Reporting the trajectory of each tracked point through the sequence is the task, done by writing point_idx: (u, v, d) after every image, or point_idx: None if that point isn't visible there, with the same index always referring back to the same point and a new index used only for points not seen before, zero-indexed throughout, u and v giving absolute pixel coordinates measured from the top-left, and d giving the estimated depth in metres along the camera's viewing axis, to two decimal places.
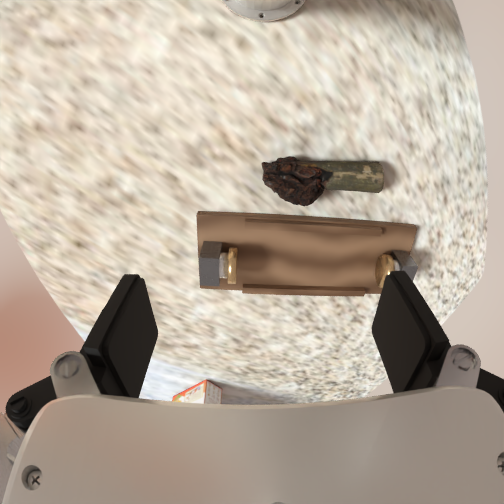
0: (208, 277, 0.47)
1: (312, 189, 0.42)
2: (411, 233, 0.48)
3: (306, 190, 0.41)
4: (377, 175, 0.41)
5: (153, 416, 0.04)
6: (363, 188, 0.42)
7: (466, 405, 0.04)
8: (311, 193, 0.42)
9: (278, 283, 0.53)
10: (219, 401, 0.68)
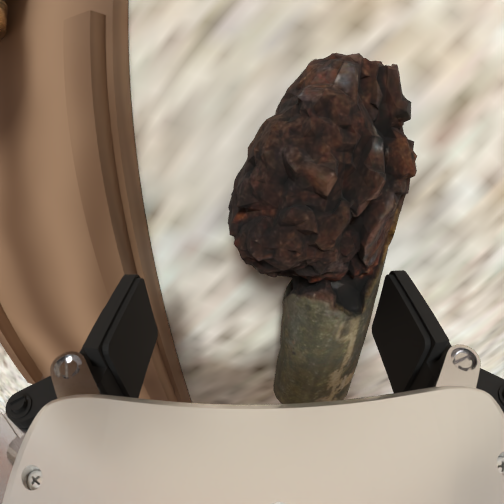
0: None
1: (311, 263, 0.10)
2: None
3: (315, 246, 0.09)
4: None
5: (153, 416, 0.04)
6: (296, 383, 0.15)
7: (466, 405, 0.04)
8: (298, 264, 0.10)
9: None
10: None
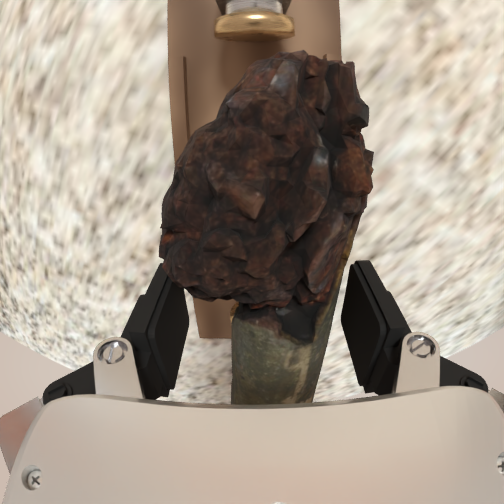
0: None
1: (248, 290, 0.09)
2: None
3: (248, 273, 0.08)
4: None
5: (153, 416, 0.04)
6: None
7: (466, 405, 0.04)
8: (230, 292, 0.09)
9: (192, 128, 0.24)
10: None
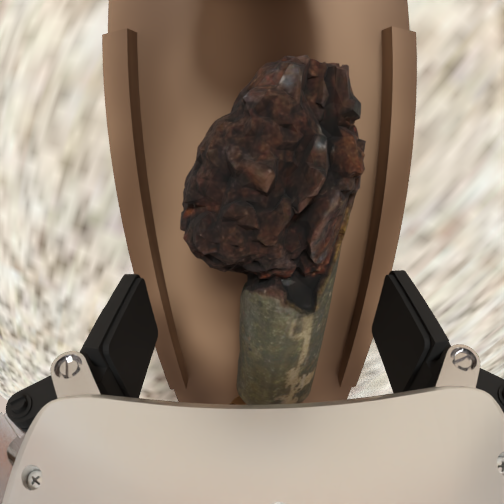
0: None
1: (258, 259, 0.11)
2: None
3: (259, 242, 0.10)
4: (291, 400, 0.16)
5: (153, 416, 0.04)
6: (255, 380, 0.15)
7: (466, 405, 0.04)
8: (243, 259, 0.10)
9: (150, 156, 0.13)
10: None
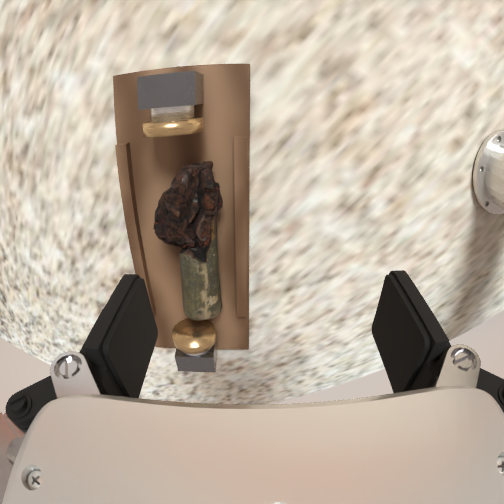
0: (155, 89, 0.22)
1: (180, 239, 0.30)
2: (241, 345, 0.43)
3: (178, 233, 0.29)
4: (207, 312, 0.35)
5: (153, 416, 0.04)
6: (188, 298, 0.34)
7: (466, 405, 0.04)
8: (174, 239, 0.29)
9: (137, 196, 0.32)
10: None
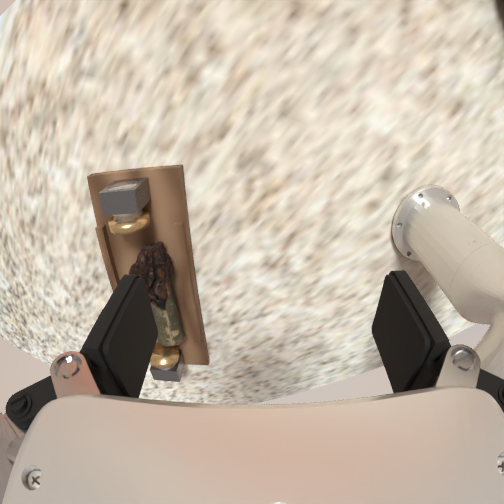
0: (111, 202, 0.34)
1: None
2: (202, 361, 0.55)
3: None
4: (172, 341, 0.47)
5: (153, 416, 0.04)
6: None
7: (466, 405, 0.04)
8: None
9: (115, 260, 0.44)
10: None
